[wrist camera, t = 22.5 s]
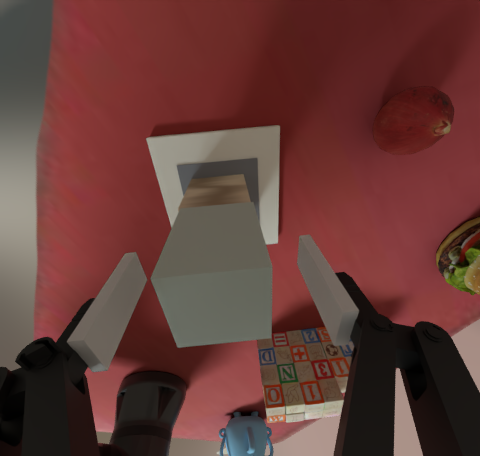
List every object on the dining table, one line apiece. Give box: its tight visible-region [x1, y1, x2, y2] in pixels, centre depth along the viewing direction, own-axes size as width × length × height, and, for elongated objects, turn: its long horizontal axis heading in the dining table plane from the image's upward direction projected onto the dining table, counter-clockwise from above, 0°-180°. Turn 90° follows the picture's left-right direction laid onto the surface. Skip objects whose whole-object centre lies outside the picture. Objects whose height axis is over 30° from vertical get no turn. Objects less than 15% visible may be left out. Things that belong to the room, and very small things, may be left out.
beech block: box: [178, 174, 251, 212], centre depth 22 cm, size 6×6×8 cm
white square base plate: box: [146, 125, 280, 244], centre depth 26 cm, size 14×15×1 cm
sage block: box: [150, 202, 272, 348], centre depth 15 cm, size 6×6×8 cm
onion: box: [373, 86, 454, 155], centre depth 20 cm, size 6×6×8 cm
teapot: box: [219, 411, 273, 456], centre depth 59 cm, size 13×14×11 cm
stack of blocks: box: [257, 327, 354, 423], centre depth 39 cm, size 21×6×12 cm, turn 96°
